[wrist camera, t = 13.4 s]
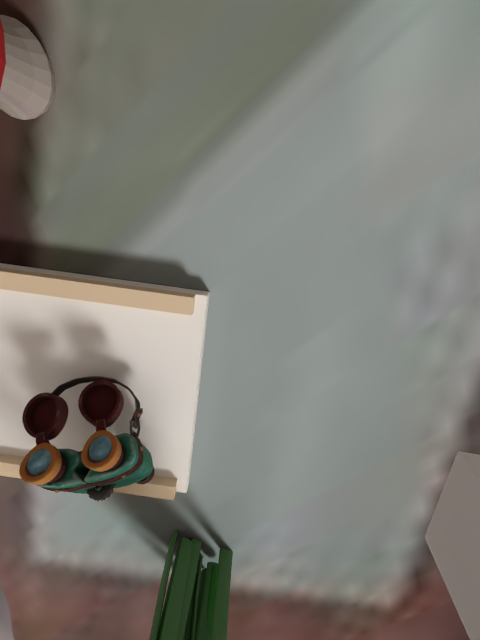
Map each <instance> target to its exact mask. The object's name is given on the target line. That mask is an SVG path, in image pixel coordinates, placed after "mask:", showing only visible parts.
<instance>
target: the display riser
mask: <svg viewBox="0 0 480 640" xmlns="http://www.w3.org/2000/svg"><path fill="white" fill-rule="evenodd" d="M209 294H210V292H207V291H200V290H193V289H185V288H178V287H171V286H163V285H156V284H149V283H142V282H134V281H127V280H120V279H112V278H105V277H98V276H91V275H83V274H76V273H69V272H61V271H54V270H47V269H40V268H32V267H25V266H18V265H10V264H3V263H0V475H1V476H8V477H15V478H21V477H20V474H19V469H20V465H21V462H22V461H23V459H24V457H25V456H26V455H27V454H28V453H29V452H30V450H31V449H33V448H34V447H35V446H37V445H36V438H34V437H32V436H30V435H29V434H28V433H27V431H26V430H25V428H24V425H23V420H22V417H23V412H24V409H25V407H26V405H27V403H28V402H29V401H30V400H31V399H32V398H33V397H34V396H36V395H38V394H40V393H52V392H53V391H54V390H55V389H56V388H57V387H58V386H59V385H61V384H64V383H66V382H68V381H71V380H73V379H76V378H82V377H89V376H102V377H107V378H113V379H116V380H117V381H119V382H121V383H122V384H124V385H126V386H127V387H129V388H130V389H131V390H132V392H133V393H134V395H135V396H136V397H137V399H138V400H139V402H140V408H143V413H142V414H141V416H140V419H139V421H140V433H139V436H138V438H139V439H140V441H141V444H143V445H144V446H145V447H146V448H147V449H148V450H149V452H150V453H151V456H152V461H153V467H154V470H155V472H154V476H153V478H152V480H151V481H150V482H148V483H146V484H137V483H134V484H131V485H128V486H124V487H120V488H113V490H114V491H113V492H119V493H126V494H133V495H140V496H147V497H154V498H161V499H168V500H174V498H175V494H176V492H182V493H187V489H188V485H189V478H190V469H191V460H192V450H193V441H194V432H195V423H196V414H197V404H198V395H199V386H200V377H201V368H202V358H203V349H204V340H205V331H206V322H207V312H208V303H209ZM90 383H92V382H87V383H81V384H78V385H76V386H73V387H71V388H69V389H66V390H65V391H64V392H62V393H61V394H60V395H59V397H62V398H63V399H64V400H65V401H66V403H67V405H68V410H69V412H68V418H67V421H66V424H65V426H64V428H63V430H62V431H61V432H60V434H59V435H58V436H57V437H56V438H54V439H52V440H49V442H50V444H51V445H53V446H55V447H56V448H57V449H72V450H76V451H78V452H80V451H82V450H83V447H84V445H85V443H86V442H87V440H88V439H89V438H90V436H91V435H92V434H94V433H95V432H96V427H95V426H94V425H92V424H91V423H89V422H88V421H87V420H86V419H85V418H84V417H83V416H82V414H81V412H80V410H79V406H78V400H79V396H80V394H81V392H82V391H83V389H84V388H85V387H86V386H87V385H89V384H90ZM113 384H115V385H116V386H117V388H118V389H119V390H120V391H121V393H122V395H123V398H124V406H123V410H122V412H121V414H120V416H119V418H118V419H117V420H116V421H115V423H114V424H112V425H111V426H110V427H107V428H106V430H107V431H109V432H111V433H112V434H113V435H114V436H116V435H119V434H123V433H128V434H130V420H131V419H132V417H133V414H134V412H135V410H136V407H135V399H134V397H133V396H132V394H131V393H130V391H129V390H127V389H126V388H124V387H122V386H121V385H119V384H116V383H113ZM132 430H133V431H134V432H136V433H137V430H138V429H135V428H134V427H132Z"/></svg>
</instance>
